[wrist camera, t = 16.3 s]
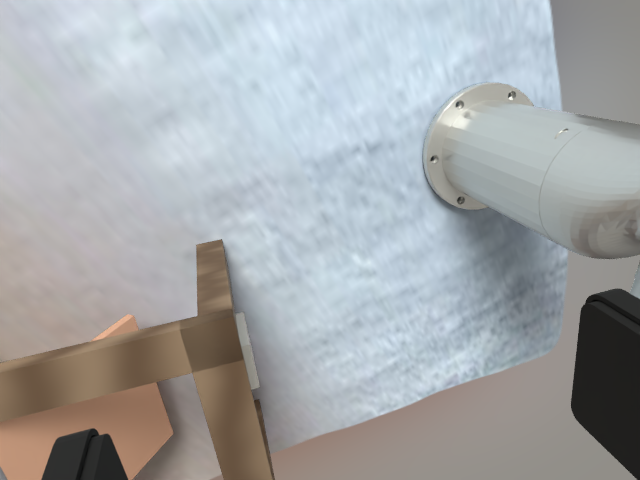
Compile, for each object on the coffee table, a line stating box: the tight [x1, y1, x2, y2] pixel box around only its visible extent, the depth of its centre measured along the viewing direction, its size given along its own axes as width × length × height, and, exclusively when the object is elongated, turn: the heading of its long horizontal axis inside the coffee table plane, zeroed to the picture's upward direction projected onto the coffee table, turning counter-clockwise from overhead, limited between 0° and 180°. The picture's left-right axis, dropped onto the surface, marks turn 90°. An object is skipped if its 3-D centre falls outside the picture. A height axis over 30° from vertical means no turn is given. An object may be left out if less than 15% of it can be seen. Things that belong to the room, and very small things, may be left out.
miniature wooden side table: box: [0, 239, 275, 480], centre depth 41 cm, size 25×22×14 cm
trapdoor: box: [0, 315, 174, 480], centre depth 38 cm, size 21×14×4 cm
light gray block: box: [235, 312, 260, 390], centre depth 47 cm, size 5×5×6 cm
